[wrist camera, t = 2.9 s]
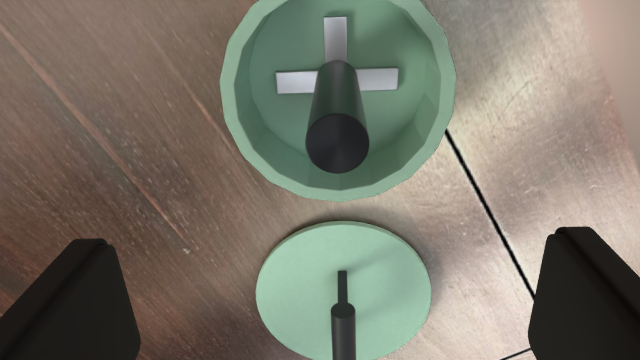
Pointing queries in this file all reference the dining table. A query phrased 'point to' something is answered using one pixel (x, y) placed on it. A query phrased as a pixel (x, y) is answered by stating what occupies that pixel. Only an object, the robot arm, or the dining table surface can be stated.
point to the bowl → (379, 106)
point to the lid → (343, 291)
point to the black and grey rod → (337, 101)
